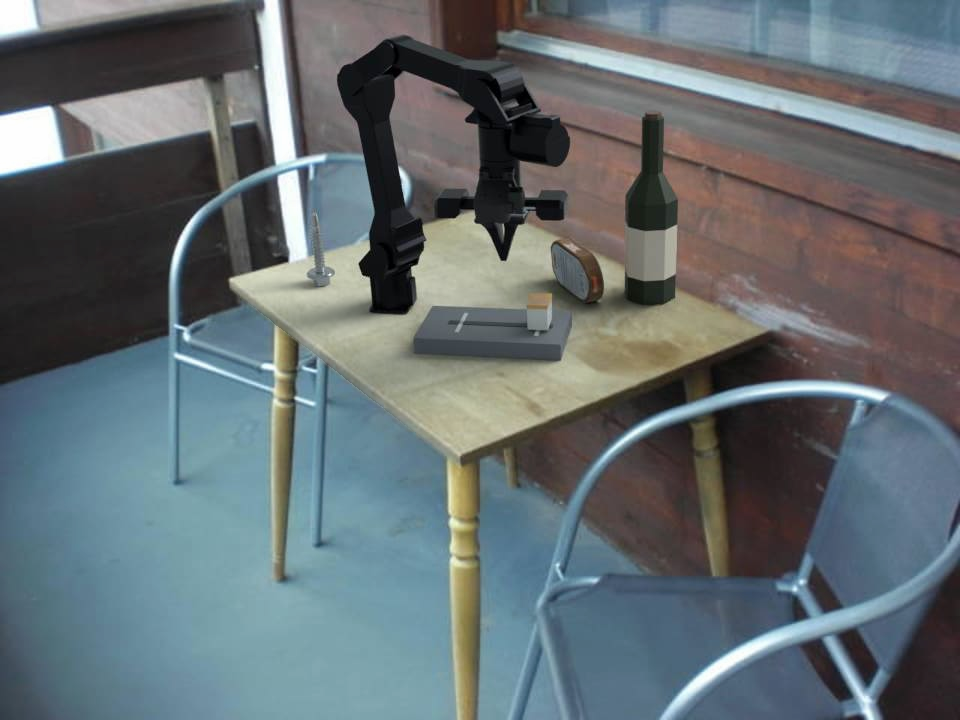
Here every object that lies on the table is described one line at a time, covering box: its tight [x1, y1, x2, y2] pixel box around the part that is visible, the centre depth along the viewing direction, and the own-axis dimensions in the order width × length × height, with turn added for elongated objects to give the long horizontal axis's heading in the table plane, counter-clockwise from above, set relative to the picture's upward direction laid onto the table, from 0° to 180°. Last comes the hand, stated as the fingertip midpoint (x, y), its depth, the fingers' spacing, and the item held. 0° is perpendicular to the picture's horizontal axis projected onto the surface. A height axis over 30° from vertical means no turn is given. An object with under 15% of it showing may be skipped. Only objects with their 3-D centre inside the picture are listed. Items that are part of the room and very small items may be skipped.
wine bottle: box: [624, 109, 679, 306], centre depth 180 cm, size 8×8×30 cm
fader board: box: [412, 305, 573, 361], centre depth 174 cm, size 22×12×3 cm, turn 78°
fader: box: [525, 292, 553, 330], centre depth 171 cm, size 3×4×4 cm
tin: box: [550, 236, 605, 304], centre depth 187 cm, size 15×3×8 cm, turn 22°
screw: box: [306, 211, 336, 288], centre depth 195 cm, size 13×5×5 cm
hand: (504, 260), depth 168 cm, fingers closed
